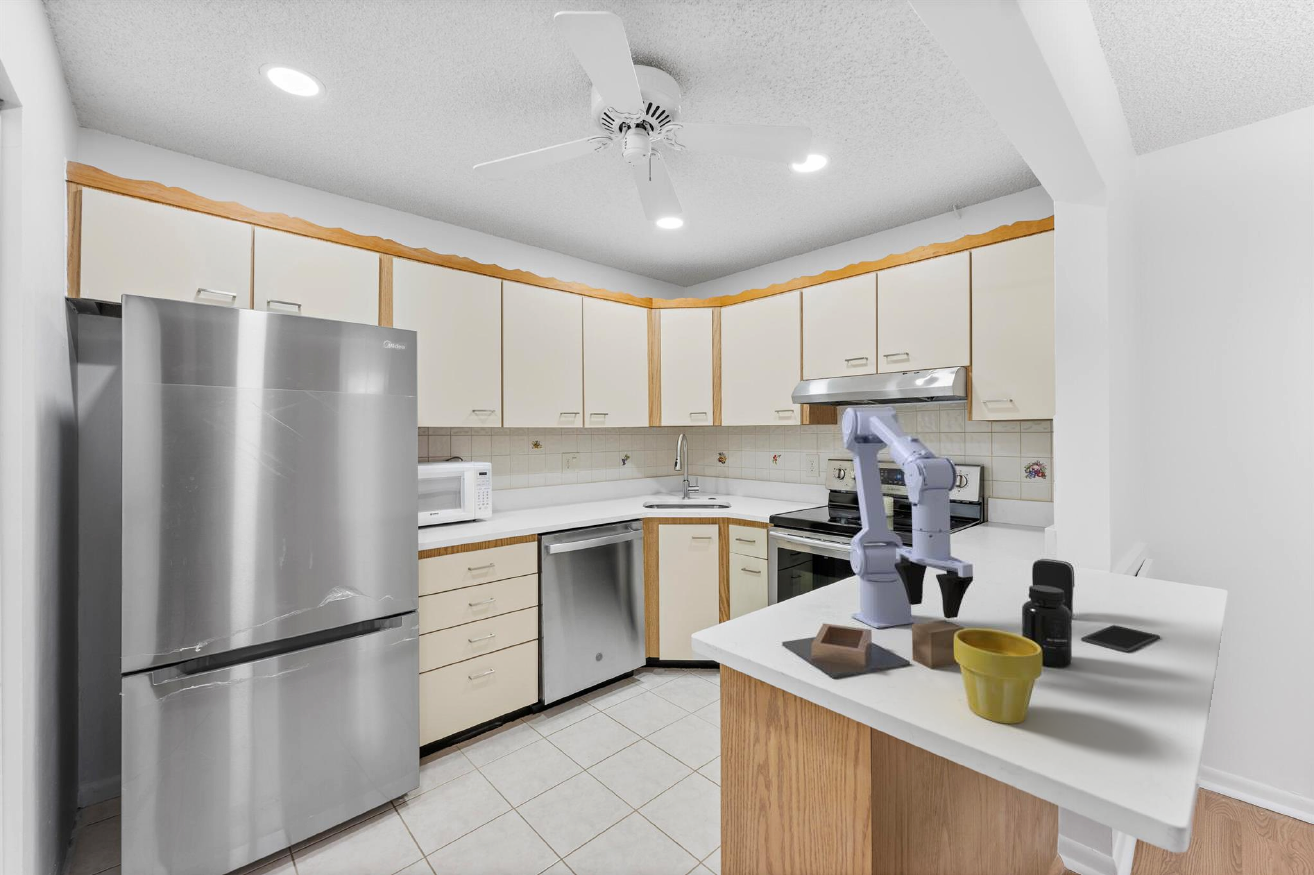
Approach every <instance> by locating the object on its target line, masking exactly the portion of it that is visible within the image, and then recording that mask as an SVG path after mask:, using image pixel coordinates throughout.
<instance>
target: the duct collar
mask: <svg viewBox="0 0 1314 875" xmlns="http://www.w3.org/2000/svg"><path fill="white" fill-rule="evenodd" d="M872 637H873V636H872V629H868V628H862V627H861V628H860V627H853V626H847V625H837V624H830V623H822V626H820V629H819V631H818V632H817V634H816V636H813V637H806V638H805V637H804V638H799V639H793V640H786V641H782V642H781V646H783V647H784V648H786V649H788V650H789V651H790V652H792V654H795V655H796V656H798V657H800V658H801V659H802V660H804V661H805V662H807V663H808V664H810V665H811V666H813V667H814V666H815V668H816V669H817V668H818V669H817V670H819V671H820V670H821V672H822V673H823V672H824V674H825V675H827V676H828V675H829V676H828V677H829V678H831V679H833V680H834V679H838V678H839V677H840V678H845V677H846V678H847V677H850V676H849V675H851V676H857V675H861V674H867V672H868V673H872V672H878V671H877V670H879V671H882V670H883V669H884V670H888V668H890V669H894V667H895V668H899V666H901V667H904V666H905V667H906V666H910V665H911V664H910V663H911V662H910V660H908V659H906V658H904V657H902V656H900V655H898V654H896V653H894V652H893V651H891V650H888V649H886V648H884V647H882V646H880V645H878V644H876V643H875V642H873V641H872ZM856 674H857V675H856ZM840 678H839V679H840Z"/></svg>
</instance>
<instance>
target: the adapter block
mask: <svg viewBox="0 0 1314 875" xmlns="http://www.w3.org/2000/svg"><path fill="white" fill-rule="evenodd" d="M963 629H965V628H964V626H961V625H958V624H957V623H954V622H952V621H951V622H950V621H948V620H945V619H941V620H936V621H935V620H934V621H929V622H922V623H921V622H920V623H915V624H912V625H911V633H912V634H911V636H912V638H911V640H912V642H911V643H912V647H911V648H912V649H911V650H912V661H913V662H916V663H918V664H920V665H922V666H924V667H926V668H927V669H930V670H933V669H940V668H944V667H945V666H946V667H950V666H954V665H955V666H956V665H960V664H959V663H958V662H957V661H956V660H955V657H954V635H955V633H956V632H957V631H959V630H963Z"/></svg>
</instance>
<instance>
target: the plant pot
mask: <svg viewBox="0 0 1314 875" xmlns="http://www.w3.org/2000/svg"><path fill="white" fill-rule="evenodd" d="M954 657H955V660H956V661H957V662H958V663H959V664H958V665H959V666H960V673H961V677H962V681H963V685H964V690H965V694H966V699H967V705H968V707H969V710H971V711H972V712H973V713H974V714H975V715H977V716H979V717H981V718H983V719H985V720H989V721H992V722H995V723H1000V724H1008V725H1009V724H1010V725H1011V724H1013V725H1014V724H1021V723H1023V722H1024V721H1025V720H1026V717H1027V713H1028V709H1029V705H1030V701H1031V697H1032V694H1033V693H1032V692H1033V690H1034V685H1035V681H1036V680H1037V679H1039V678H1040V677H1041V676H1042V671H1043V665H1042V649H1041V647H1040V646H1039V645H1038V644H1037V643H1035V642H1034V641H1032V640H1030V639H1028V638H1025V637H1022V635H1019V634H1016V633H1013V632H1007V631H1003V630H998V629H991V628H980V627H979V628H977V627H976V628H974V627H973V628H971V627H970V628H964V629H963V630H959V631H957V632H956V633H955V635H954Z"/></svg>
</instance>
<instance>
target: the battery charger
mask: <svg viewBox="0 0 1314 875" xmlns="http://www.w3.org/2000/svg"><path fill="white" fill-rule="evenodd" d="M1031 571H1032V574H1031V579H1032V581H1031V583H1032V585H1042V586H1050V587H1055V588H1059V589H1061V590H1063V591H1064V600H1065V602H1064V603H1063V605H1064V606H1065V607H1067V608H1068V609H1069V611H1070V612H1071V615H1072V619H1074V605H1073V604H1074V589H1075V569H1074V566H1073V565H1072V564H1071V563H1070V562H1069V561H1063V560H1058V559H1049V558H1039V559H1036V560H1034V562H1033V564H1032V570H1031Z"/></svg>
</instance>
